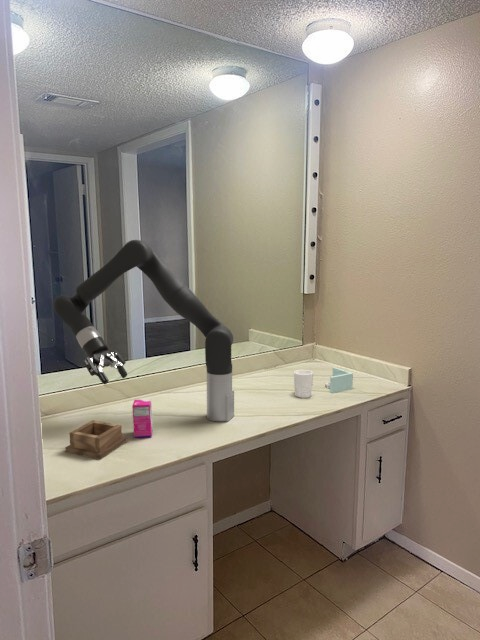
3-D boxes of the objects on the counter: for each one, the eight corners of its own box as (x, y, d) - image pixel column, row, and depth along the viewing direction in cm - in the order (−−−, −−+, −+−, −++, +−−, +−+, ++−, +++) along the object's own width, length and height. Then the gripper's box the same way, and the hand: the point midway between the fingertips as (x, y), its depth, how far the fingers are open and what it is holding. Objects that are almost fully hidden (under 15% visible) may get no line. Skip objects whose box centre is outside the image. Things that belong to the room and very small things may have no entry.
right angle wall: (333, 383, 222) (334, 367, 221) (352, 390, 212) (353, 373, 211) (313, 387, 216) (313, 370, 215) (331, 394, 206) (332, 377, 204)
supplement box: (135, 431, 164) (134, 398, 162) (153, 430, 165) (152, 398, 163) (133, 438, 159) (132, 404, 157) (151, 437, 159) (150, 404, 157)
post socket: (126, 442, 155) (125, 424, 154) (100, 459, 143) (99, 440, 142) (93, 436, 160) (92, 418, 159) (65, 452, 148) (64, 433, 147)
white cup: (291, 397, 200) (291, 373, 199) (296, 391, 208) (296, 368, 206) (309, 399, 197) (310, 375, 196) (314, 393, 205) (315, 370, 203)
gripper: (80, 339, 161) (105, 378, 157) (112, 332, 173) (136, 368, 169) (70, 352, 165) (94, 391, 161) (102, 345, 177) (126, 380, 173)
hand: (116, 379), depth 165 cm, fingers open, 8 cm apart
